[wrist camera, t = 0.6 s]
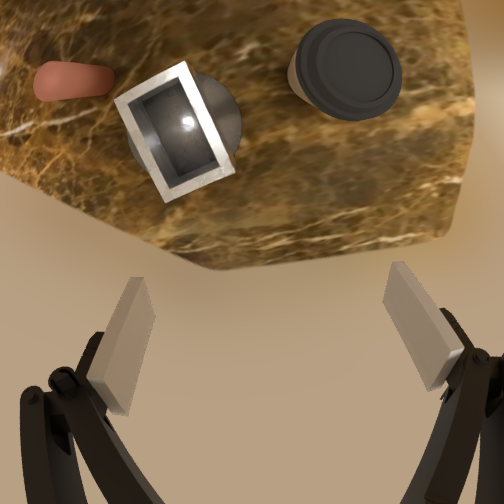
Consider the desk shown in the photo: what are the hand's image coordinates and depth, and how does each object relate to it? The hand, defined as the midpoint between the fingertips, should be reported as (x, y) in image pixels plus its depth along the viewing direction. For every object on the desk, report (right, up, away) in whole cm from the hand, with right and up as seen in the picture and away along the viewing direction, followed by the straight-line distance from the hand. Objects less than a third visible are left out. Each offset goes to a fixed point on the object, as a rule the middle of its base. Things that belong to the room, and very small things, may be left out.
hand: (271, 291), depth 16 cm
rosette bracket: (-9, +17, +18) cm, 27 cm away
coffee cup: (+7, +23, +16) cm, 28 cm away
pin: (-20, +23, +14) cm, 34 cm away
